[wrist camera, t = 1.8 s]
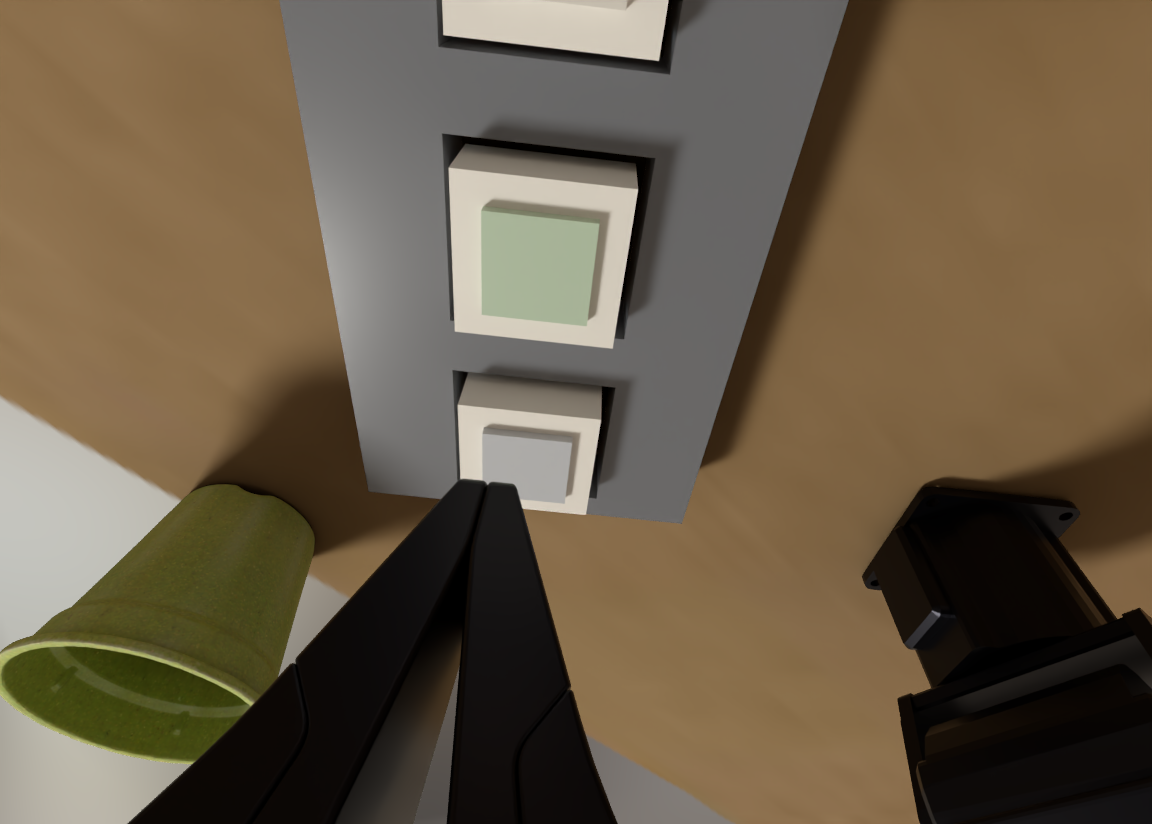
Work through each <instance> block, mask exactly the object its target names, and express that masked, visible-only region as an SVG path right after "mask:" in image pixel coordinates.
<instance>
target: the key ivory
mask: <svg viewBox="0 0 1152 824" xmlns="http://www.w3.org/2000/svg"><path fill="white" fill-rule="evenodd" d="M668 1H669V0H442V11H443V35H446V36H455V37H463V38H472V39H480V40H488V41H497V42H505V43H513V44H522V45H530V46H538V47H547V48H555V49H563V50H572V51H580V52H588V53H597V54H605V55H613V56H622V57H630V58H638V59H647V60H655V61H659V57H660V51H661V45H662V38H663V32H664V26H665V20H666V13H667V7H668Z"/></svg>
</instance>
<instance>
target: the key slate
mask: <svg viewBox="0 0 1152 824" xmlns="http://www.w3.org/2000/svg"><path fill="white" fill-rule="evenodd" d="M601 405H602V386H596V385H587V384H578V383H568V382H559V381H550V380H540V379H531V378H522V377H512V376H503V375H494V374H484V373H475V372H468V375H467V378H466V381H465V384H464V387H463V390H462V393H461V396H460V399H459V402H458V427H459V453H460V479H473V480H483V481H485V482H486V483H487V485H488V484H489V483H490V482H502V483H512V484H514V485H515V486H516V487H517V490H518V494H519V498H520V501H521V505H522V509H532V510H542V511H551V512H561V513H571V514H581V515H586V511H587V505H588V498H589V492H590V486H591V480H592V474H593V467H594V461H595V455H596V449H597V443H598V436H599V430H600V424H601Z"/></svg>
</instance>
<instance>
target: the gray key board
mask: <svg viewBox="0 0 1152 824" xmlns="http://www.w3.org/2000/svg"><path fill="white" fill-rule="evenodd" d="M279 1H280V6H281V12H282V17H283V23H284V28H285V34H286V39H287V45H288V50H289V56H290V61H291V67H292V72H293V78H294V83H295V89H296V94H297V100H298V105H299V111H300V116H301V122H302V127H303V133H304V138H305V144H306V149H307V155H308V160H309V166H310V171H311V177H312V182H313V188H314V193H315V199H316V204H317V210H318V215H319V221H320V226H321V232H322V237H323V243H324V248H325V254H326V259H327V265H328V270H329V276H330V281H331V287H332V293H333V298H334V304H335V309H336V315H337V320H338V326H339V331H340V337H341V342H342V348H343V353H344V359H345V364H346V370H347V375H348V381H349V386H350V392H351V397H352V403H353V408H354V414H355V419H356V425H357V430H358V436H359V441H360V447H361V452H362V458H363V463H364V469H365V474H366V480H367V485H368V491H369V492H377V493H387V494H397V495H406V496H416V497H426V498H436V499H441V498H442V497H443V496H444V495H445V494H446V493H447V492H448V491H449V490H450V489H451V487H452V486H453V485H454V484H455V483H456V482H457V481H458V480H460V453H459V427H458V402H459V399H460V396H461V393H462V390H463V387H464V384H465V381H466V378H467V375H468V372H475V373H484V374H494V375H503V376H512V377H522V378H531V379H540V380H550V381H559V382H568V383H578V384H587V385H596V386H606V387H609V390H608V396H607V402H606V408H605V414H604V420H603V426H602V432H601V438H600V444H599V451H598V455H595V461H594V467H593V474H592V480H591V486H590V492H589V498H588V505H587V511H586V514H592V515H602V516H612V517H622V518H631V519H641V520H651V521H661V522H671V523H680V524H682V521H683V518H684V515H685V512H686V509H687V505H688V502H689V499H690V496H691V493H692V490H693V487H694V483H695V480H696V477H697V474H698V471H699V468H700V465H701V462H702V458H703V455H704V452H705V449H706V446H707V443H708V440H709V437H710V433H711V430H712V427H713V424H714V421H715V418H716V415H717V411H718V408H719V405H720V402H721V399H722V396H723V393H724V390H725V386H726V383H727V380H728V377H729V374H730V371H731V368H732V364H733V361H734V358H735V355H736V352H737V349H738V346H739V343H740V339H741V336H742V333H743V330H744V327H745V324H746V321H747V318H748V314H749V311H750V308H751V305H752V302H753V299H754V296H755V292H756V289H757V286H758V283H759V280H760V277H761V274H762V271H763V267H764V264H765V261H766V258H767V255H768V252H769V249H770V245H771V242H772V239H773V236H774V233H775V230H776V227H777V224H778V220H779V217H780V214H781V211H782V208H783V205H784V202H785V199H786V195H787V192H788V189H789V186H790V183H791V180H792V177H793V173H794V170H795V167H796V164H797V161H798V158H799V155H800V152H801V148H802V145H803V142H804V139H805V136H806V133H807V130H808V126H809V123H810V120H811V117H812V114H813V111H814V108H815V105H816V101H817V98H818V95H819V92H820V89H821V86H822V83H823V80H824V76H825V73H826V70H827V67H828V64H829V61H830V58H831V54H832V51H833V48H834V45H835V42H836V39H837V36H838V33H839V29H840V26H841V23H842V20H843V17H844V14H845V11H846V7H847V4H848V1H849V0H672V6H671V12H670V18H669V24H668V30H667V36H666V42H665V49H664V55H663V57H659V61H655V60H647V59H638V58H630V57H622V56H613V55H605V54H597V53H588V52H580V51H572V50H563V49H555V48H547V47H538V46H530V45H522V44H513V43H505V42H497V41H488V40H480V39H472V38H463V37H455V36H446V35H443V11H442V0H279ZM462 136H468V137H477V138H486V139H494V140H503V141H511V142H520V143H529V144H537V145H546V146H555V147H563V148H572V149H580V150H589V151H598V152H606V153H615V154H623V155H632V156H641V157H647V158H646V164H645V170H644V176H643V183H642V189H641V195H640V201H639V207H638V213H637V219H636V225H635V231H634V237H633V243H632V250H631V256H630V262H629V268H628V274H627V280H626V286H625V292H624V298H623V301H620V306H619V312H618V318H617V324H616V331H615V337H614V343H613V349H611V348H602V347H592V346H583V345H574V344H565V343H555V342H546V341H537V340H528V339H519V338H509V337H500V336H491V335H482V334H473V333H463V332H455V323H454V297H453V271H452V245H451V219H450V193H449V166H450V165H451V163H452V162H453V161H454V159H455V158H456V156H457V155H458V154H459V152H460V151H461V149H462V148H463V137H462Z"/></svg>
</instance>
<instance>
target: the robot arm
mask: <svg viewBox="0 0 1152 824" xmlns="http://www.w3.org/2000/svg"><path fill="white" fill-rule="evenodd" d="M1079 515H1080V511H1079V510H1078V509H1077V507H1076V506H1075V505H1074V504H1073V503H1072V502H1070V501H1064V500H1055V499H1045V498H1036V497H1026V496H1017V495H1007V494H998V493H988V492H978V491H969V490H959V489H950V488H940V487H928V488H924V489H923V490H921V491H919V492H918V493H917V495H916V496H915V498H914V499H913V501H912V502H911V504H910V505H909V507H908V508H907V510H906V511H905V513H904V514H903V516H902V517H901V518H900V520H899V521H898V523H897V524H896V526H895V527H894V529H893V530H892V532H891V533H890V535H889V536H888V538H887V539H886V541H885V542H884V544H883V545H882V547H881V548H880V550H879V551H878V553H877V554H876V556H875V557H874V559H873V560H872V562H871V563H870V565H869V566H868V568H867V569H866V571H865V572H864V574H863V576H862V578H863V581H864V584H865V586H866V587H867V588H868V589H874V590H882V592H883V595H884V597H885V600H886V602H887V605H888V607H889V610H890V612H891V614H892V617H893V619H894V622H895V624H896V627H897V629H898V632H899V634H900V636H901V639H902V641H903V643H904V644H905V646H906V647H907V648H908V649H911V650H916V653H917V655H918V657H919V660H920V662H921V664H922V667H923V669H924V671H925V674H926V676H927V679H928V681H929V683H930V686H931V689H928V690H926V691H923V692H920V693H917V694H915V695H913V694H911V693H910V694H907V695H904V696H902V697H899V698H898V706H899V712H900V717H901V727H902V732H903V738H904V743H905V749H906V754H907V759H908V765H909V770H910V776H911V781H912V787H913V792H914V797H915V803H916V808H917V814H918V819H919V822H920V824H1152V618H1151V617H1150V616H1148V615H1147V614H1146V613H1145V612H1144V611H1143V610H1142V609H1141V608H1137V609H1135V610H1132V611H1129V612H1127V613H1124V614H1122V616H1123V617H1122V618H1120V619H1117V618H1116V616H1115V615H1114V614H1113V612H1112V611H1111V610H1110V608H1109V607H1108V606H1107V604H1106V603H1105V602H1104V600H1103V599H1102V598H1101V596H1100V595H1099V593H1098V592H1097V591H1096V589H1095V588H1094V587H1093V585H1092V584H1091V583H1090V581H1089V580H1088V579H1087V577H1086V576H1085V574H1084V573H1083V572H1082V570H1081V569H1080V568H1079V566H1078V565H1077V564H1076V562H1075V561H1074V560H1073V558H1072V557H1071V555H1070V554H1069V553H1068V551H1067V550H1066V549H1065V547H1064V546H1063V545H1062V543H1061V542H1060V541H1059V539H1058V538H1059V537H1060V536H1061V535H1062V534H1063V533H1064V532H1065V531H1066V530H1067V529H1068V528H1069V527H1070V525H1071V524H1072V523H1073V522H1074V521H1075V520H1076V519H1077V518H1078V517H1079ZM459 665H460V667H459ZM458 669H459V680H458V692H457V704H456V716H455V729H454V741H453V753H452V765H451V777H450V790H449V802H448V815H447V824H618V823H617V821H616V819H615V816H614V814H613V811H612V809H611V806H610V803H609V801H608V798H607V795H606V793H605V790H604V787H603V785H602V783H601V779H600V777H599V774H598V772H597V769H596V766H595V763H594V760H593V757H592V754H591V751H590V747H589V744H588V741H587V738H586V735H585V731H584V728H583V725H582V722H581V718H580V715H579V711H578V708H577V704H576V700H575V697H574V693H573V691H572V690H570V689H571V683H570V680H569V676H568V672H567V669H566V665H565V661H564V658H563V654H562V650H561V647H560V643H559V640H558V636H557V632H556V629H555V625H554V621H553V618H552V614H551V610H550V607H549V603H548V600H547V596H546V592H545V589H544V585H543V581H542V578H541V574H540V570H539V567H538V563H537V559H536V556H535V552H534V549H533V545H532V541H531V538H530V534H529V530H528V527H527V523H526V519H525V516H524V512H523V509H522V505H521V501H520V498H519V494H518V490H517V487H516V486H515V485H514V484H512V483H502V482H490V483H489V484H488V485H487V483H486V482H485V481H483V480H473V479H460V480H458V481H457V482H456V483H455V484H454V485H453V486H452V487H451V489H450V490H449V491H448V492H447V493H446V494H445V495H444V496H443V497H442V498H441V500H440V501H439V502H438V503H437V504H436V505H435V506H434V507H433V508H432V509H431V510H430V512H429V513H428V514H427V515H426V516H425V517H424V518H423V519H422V520H421V521H420V523H419V524H418V525H417V526H416V527H415V528H414V529H413V530H412V531H411V532H410V533H409V535H408V536H407V537H406V538H405V539H404V540H403V541H402V542H401V543H400V544H399V546H398V547H397V548H396V549H395V550H394V551H393V552H392V553H391V554H390V555H389V557H388V558H387V559H386V560H385V561H384V562H383V563H382V564H381V565H380V566H379V567H378V569H377V570H376V571H375V572H374V573H373V574H372V575H371V576H370V577H369V578H368V580H367V581H366V582H365V583H364V584H363V585H362V586H361V587H360V588H359V589H358V591H357V592H356V593H355V594H354V595H353V596H352V597H351V598H350V599H349V600H348V601H347V603H346V604H345V605H344V606H343V607H342V608H341V609H340V610H339V611H338V613H337V614H336V615H335V616H334V617H333V618H332V619H331V620H330V621H329V622H328V623H327V625H326V626H325V627H324V628H323V629H322V630H321V631H320V632H319V633H318V635H316V637H315V638H314V639H313V640H312V641H311V642H310V643H309V644H308V645H307V647H306V648H305V649H304V650H303V651H302V652H301V653H300V654H299V655H298V656H297V658H296V664H294V663H292V664H290V665H289V666H288V667H287V668H286V669H285V670H284V671H283V672H282V673H281V675H280V676H279V677H278V678H277V679H276V680H275V681H274V682H273V683H272V684H271V686H270V687H269V688H268V689H267V690H266V691H265V692H264V693H263V694H262V695H261V696H260V697H259V698H258V699H257V700H256V701H255V702H254V704H253V705H252V706H251V707H250V708H249V709H248V710H247V711H246V712H245V713H244V714H243V715H242V716H241V717H240V718H239V719H238V720H237V721H236V722H235V723H234V724H233V725H232V726H231V728H229V729H228V730H227V731H226V732H225V733H224V734H223V735H222V736H221V737H220V738H219V739H218V740H217V741H216V742H215V743H214V744H213V745H212V746H211V747H210V748H208V749H207V750H206V751H205V752H204V753H203V754H202V755H201V756H200V757H199V758H198V759H197V760H196V761H195V762H194V763H193V764H192V765H191V766H190V767H189V768H187V769H186V770H185V771H184V772H183V773H182V774H181V775H180V776H179V777H178V778H177V779H175V780H174V781H173V782H172V783H171V784H170V785H169V786H168V787H167V788H166V789H165V790H164V791H162V792H161V794H159V795H158V796H157V797H156V798H155V799H154V800H153V801H152V802H150V803H149V805H147V806H146V807H145V808H144V809H143V810H142V811H141V812H140V813H138V814H137V816H135V817H134V818H133V819H132V820H131V821H130V822H129V823H128V824H413V823H414V820H415V816H416V813H417V809H418V806H419V802H420V799H421V796H422V792H423V789H424V785H425V782H426V778H427V775H428V772H429V768H430V765H431V761H432V758H433V754H434V751H435V748H436V744H437V740H438V737H439V734H440V730H441V727H442V724H443V720H444V717H445V713H446V710H447V706H448V703H449V700H450V696H451V693H452V689H453V685H454V682H455V679H456V676H457V672H458Z"/></svg>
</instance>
